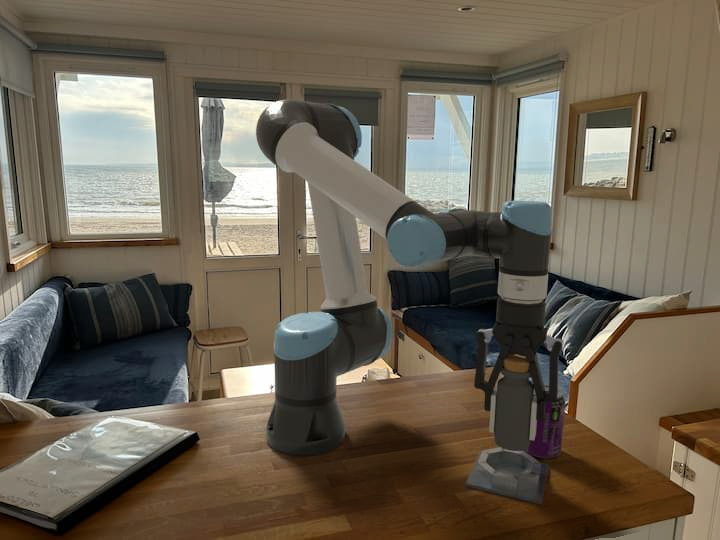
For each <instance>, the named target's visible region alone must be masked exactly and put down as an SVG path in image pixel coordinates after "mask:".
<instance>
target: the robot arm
mask: <svg viewBox="0 0 720 540" xmlns="http://www.w3.org/2000/svg"><path fill="white" fill-rule="evenodd" d="M255 136H256V142H257V144H258V147H259V149H260V151H261V153H262V154H263V155H264V156H265V158H266V159H267V160H268V161H270V162H271V163H272V164H273V165H275V166H276V167H277V168H279V169H280V170H282V171H283V172H285V173H291V174H292V173H295V174H297V175H298V176H299V177H301V179H303V180H305V181H306V182H307V187H308V192H309V193H308V194H309V199H310V205H311V211H312V216H313V217H312V218H313V224H314V230H315V236H316V242H317V247H318V249H317V250H318V255H319V261H320V265H321V267H320V268H321V273H322V278H323V283H324V291H325V300H324V301H323V303H322V304H321V306H320V311H309V312H306V313H305V312H301V313H296V314H293V315H290V316H288V317H286V318H284V319H283V320H281V321H280V322H279V323H278V324H277V326H276V328H275V330H274V331H275V332H274V342H273V345H272V346H273V353H274V354H273V356H274V357H273V358H274V359H273V360H274V402H273V404H272V407H271V411H270V413H269V416H268V420H267V423H266V427H265V435H266V437H265V439H266V442H267V444H268V445H269V446H270V447H271V449H274V450H276V452H281V453H283V454H286V455H290V456H299V457H300V456H301V457H302V456H307V457H308V456H316V455H321V454H326V453H328V452H331V451H333V450H335V449H336V448H338V447H339V446H341V445H342V443H344V441H345V438H346V437H345V436H346V424H345V420H344V417H343V414H342V411H341V408H340V405H339V401H338V399H337V377H340V376H342V375H344V374H347V373H349V372H352V371H354V370H357V369H359V368H362V367H366V366H369V365H371V364H374V363H375V362H376V361H378V360H379V359H381V358H383V357H384V356H385V355H386V354H387V352H388V351H389V349H390V347H391V345H392V342H393V325H392V322H391V319H390V317H389V315H388V314H386V313H385V310H384V309H383V308H381V307H379V306H378V302H377V297H376V296H374V295H373V294H372V293H370V292H369V291H368V286H367V280H366V279H367V278H366V273H365V267H364V261H363V254H362V248H361V241H360V237H359V229H358V224H357V223H358V222H357V219H358V220H359V221H360V222H361V223H363V224H364V225H366V226H367V227H368V228H370V229H371V230H373V231H374V232H376V233H377V234H378V235H379V236H380V237H382V238H383V239H385V241H386V243H387V248H388V251H389V252H390V254H391V256H392V258H393V260H394V261H396V263H397V264H399V265H401V266H404V267H405V268H406V267H407V268H416V267H418V268H420V267H422V268H423V267H428V266H432V265H434V264H438V263H442V262H445V261H450V260H451V261H452V260H456V259H460V258H464V257H468V256H470V257H471V256H472V257H482V258H490V259H499V260H498V262H499V265H498V267H499V268H498V282H497V283H498V284H497V294H498V295H499V297H498V299H497V300H496V315H495V316H496V317H495V324H494V325H493V327H492V328H487V329H485V328H480V329H479V330H478V331H477V332H476V335H475V337H476V340H477V345H478V348H477V357H476V366H475V375H474V385H473V386H474V388H475V389H477V390H481V391H483V392H484V405H483V406H484V407H483V408H484V411H485V412H489V413H490V414H489V430H488V432H489V433H492V434H494V430H495V414H496V398H497V389H495V387H496V384H497V383H498V379H499V377H500V374H501V369H502V367H503V365H504V360H505V359H506V357H507V355H508V354H509V355H515V354H517V355H520V356H524V357H526V360H527V363H529V370H530V374H531V378H530V379H531V382H532V383H533V386H534V390H535V394H536V397H535V396H534V397H533V401H532V409H531V423H530V437H529V440H533V441H534V439H535V435H536V424H537V420H541V421H542V420H543V418H544V413H545V402H547V401H556V399H557V395H558V388H559V359H560V358H559V357H560V356H559V355H560V353H561V350H562V347H563V343H564V340H563V338H561V337H553V336H550V335H548V334H547V333H548V332H547V331H546V328H545V323H546V321H545V320H546V318H545V317H546V308H547V303H546V302H545V299H547V296H548V295H547V293H548V283H549V263H550V254H551V252H550V251H551V243H552V242H551V241H552V235H553V227H552V226H553V225H552V224H553V222H552V221H553V209H552V206H551V205H550V204H549V203H548V202H546V201H538V200H536V201H535V200H507V201H505V202H504V203H503V205H502V209H501V211H495V212H492V211H481V210H473V209H472V210H470V209H464V208H449V209H448V208H444V209H441V210H439V212H438V213H434V212H432V211H430V210H429V209H428V208H426V207H424V206H422V205H421V204H419V203H418V202H416V201H415V200H414V199H412V198H411V197H409V196H408V195H406V194H405V193H403V192H402V191H401V190H399V189H398V188H396V187H394V186H393V185H391V184H390V183H388V182H387V181H386V180H384V179H383V178H381V177H379V176H378V175H377V174H375V173H373V172H372V171H371V170H369V169H368V168H366V167H365V166H363V165H362V164H360V163H359V162H357V161H356V160H355V158H356V157H357V155H359V152H360V148H361V147H362V141H363V139H362V138H363V136H362V129H361V126H360V124H359V122H358V119H357V118H356V116H355V115H354V114H353V113H352V112H351V111H350V110H348V109H346V108H345V107H342V106H339V105H336V104H334V103H329V102H328V103H327V102H324V103H322V102H321V103H320V102H314V101H306V100H305V101H303V100H298V99H288V98H287V99H280V100H277V101H274V102H273V103H271V104H270V105H268V106H266V107H265V109H264V110H263V111H262V112H261V113H260V115H259V117H258V119H257V123H256V126H255ZM492 337H494V339H495V340H496V342H497V343H498V345H499V347H500V351H499V353H498V355H497V359H496V360H495V363H494V366H493V368H492V371H491V374H490V376H489V378H488V380H485V375H486V368H487V360H488V359H487V358H488V352H489V351H488V349H489V343H491V340H492ZM544 343H545V344H546V349H547V351H548V352H550V353H549V365H548V366H549V369H548V370H549V371H548V373H549V374H548V375H549V376H548V378H549V379H548V385H549V390H548V391H545V388H544V385H545V384H544V380H543V379H544V378H543V376H542V373H541V367H540V363H539V359H538V354H537V350H538V349H539V347H540V346H542V345H543V344H544Z"/></svg>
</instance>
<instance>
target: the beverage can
mask: <svg viewBox="0 0 720 540" xmlns="http://www.w3.org/2000/svg"><path fill="white" fill-rule="evenodd" d="M544 388H545V391H548V390H549V384H544ZM564 395H565V393H564V391H563V390H562V389H561V388H559V387H558V395H557V399H556V401H547V402H545V413H544V418H543V420H542V421H541V420H537V424H536V435H535V439H534V441H533V440H530V445H529V447H528V448H527V449H525V450H524V452H526V453H528V454H529V455H530V456H532V457H536V458H540V459H550V458H555V457H558V456H559V455H560V454H561V453H562V445H563V434H564V433H563V432H564V423H565V412H566V400H565V397H564ZM534 396H535V397H536V394H535V390H534V395H533V397H534Z"/></svg>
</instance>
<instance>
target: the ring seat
mask: <svg viewBox="0 0 720 540" xmlns="http://www.w3.org/2000/svg"><path fill="white" fill-rule="evenodd" d="M549 466H550V465H549V463H544V462H540V461H539V460H537V459H536V458H534V456H533V455H531V454H530V453H528V452H526V451H525V450H522V451H511V450H506V449H503V448H501V447H499V446H498V447H494V448H490V449H485V450H482V449H479V452H478V455H477V457H476V458H475V462H474V463H473V466H472V468H471V471H470V473H469V475H468V477H467V479H466V482H465V487H466V488H470V489H473V490H474V489H475V490H479V491H482V492H483V491H484V492H486V493H487V492H488V493H491V494H497V495H500V496H503V497H508V498H513V499H516V500H520V501H521V500H522V501H525V502H529V503H534V504H537V505H542V503H543V498H544V492H545V487H546V483H547V481H546V480H547V478H548V477H547V476H548V471H549Z"/></svg>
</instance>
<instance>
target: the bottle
mask: <svg viewBox="0 0 720 540" xmlns="http://www.w3.org/2000/svg"><path fill="white" fill-rule="evenodd" d="M500 374H501V375H502V376H503V377H501V378H498V379H499V380H498V379H497V383H496V384H497V386H496V390H497V398H496V414H495V430H494V433H493V434H494V435H493V442H494V443H495V445H496V446H497V447H498V448H499V447H501V448H503V449H506V450H511V451H525V449H527V448H528V447H529V445H530V440H529V437H530V423H531V409H532V401H533V395H534V386H533V382H532V380H530V379H532V378H531V374H530V370H529V363H527V360H526V357H524V356H520V355H517V354H515V355H509V354H508V355H507V357H506V359H505V360H504V365H503V367H502V369H501V372H500Z"/></svg>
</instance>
